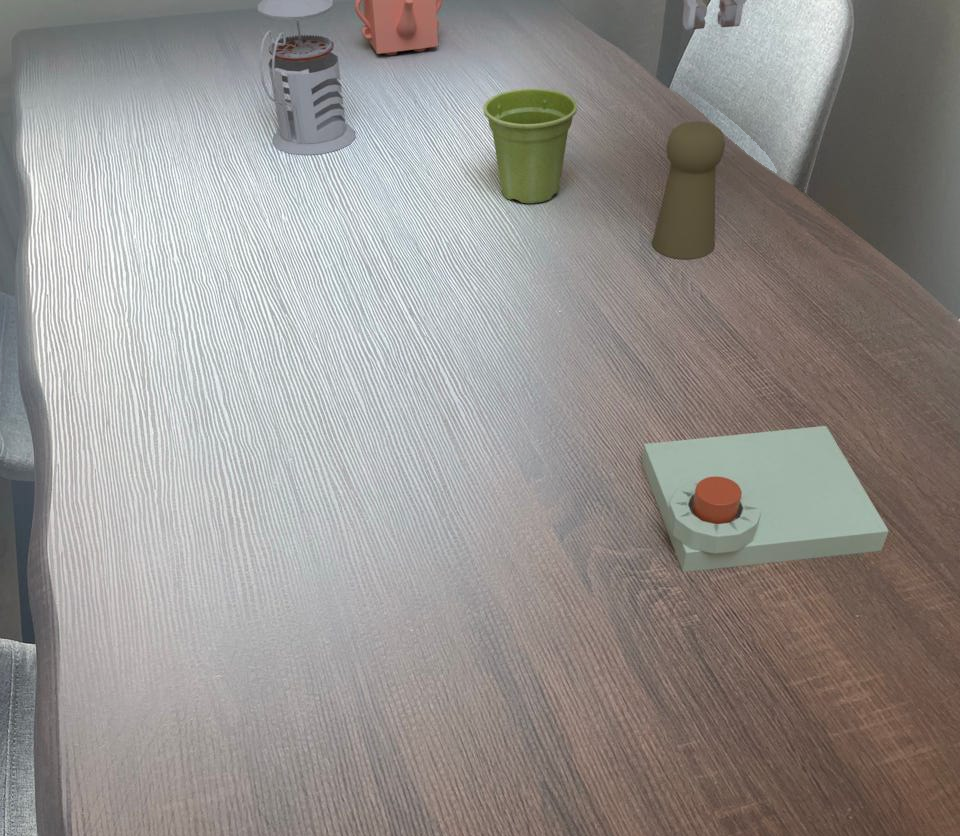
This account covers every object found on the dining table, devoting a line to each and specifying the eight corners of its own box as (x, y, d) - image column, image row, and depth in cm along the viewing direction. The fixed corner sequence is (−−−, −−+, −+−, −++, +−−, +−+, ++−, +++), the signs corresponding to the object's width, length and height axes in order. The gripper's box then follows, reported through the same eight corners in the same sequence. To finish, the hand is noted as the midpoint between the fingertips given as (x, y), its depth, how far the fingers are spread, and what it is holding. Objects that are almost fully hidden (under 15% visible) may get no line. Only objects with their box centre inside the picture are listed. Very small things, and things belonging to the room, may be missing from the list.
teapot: (430, 24, 145) (427, -45, 139) (458, 59, 136) (455, -13, 129) (348, 34, 143) (341, -35, 137) (370, 71, 134) (364, -2, 127)
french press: (371, 128, 121) (345, -132, 103) (317, 167, 114) (279, -104, 96) (302, 115, 124) (265, -139, 106) (245, 152, 117) (195, -113, 99)
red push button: (730, 494, 70) (734, 473, 69) (743, 522, 68) (747, 502, 67) (687, 498, 70) (690, 478, 68) (699, 527, 68) (702, 507, 66)
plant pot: (497, 217, 105) (496, 129, 99) (476, 179, 111) (473, 93, 105) (585, 205, 106) (589, 117, 100) (559, 168, 112) (561, 83, 106)
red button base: (820, 445, 78) (831, 407, 76) (884, 555, 70) (898, 517, 67) (635, 464, 77) (639, 426, 75) (677, 578, 69) (684, 539, 66)
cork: (639, 245, 100) (650, 128, 92) (676, 223, 103) (689, 108, 95) (690, 265, 97) (707, 146, 89) (726, 242, 100) (745, 124, 92)
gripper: (608, -166, 73) (596, 47, 83) (885, -182, 74) (840, 30, 85) (590, -183, 77) (581, 22, 87) (852, -198, 79) (813, 6, 89)
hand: (710, 26), depth 86 cm, fingers closed
